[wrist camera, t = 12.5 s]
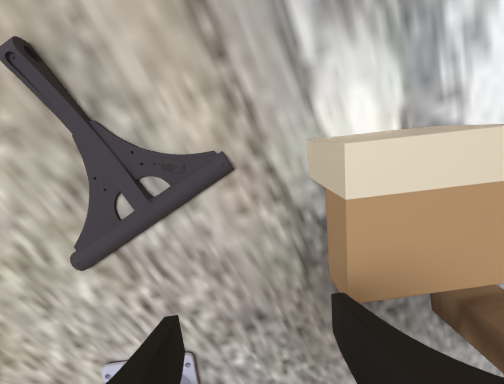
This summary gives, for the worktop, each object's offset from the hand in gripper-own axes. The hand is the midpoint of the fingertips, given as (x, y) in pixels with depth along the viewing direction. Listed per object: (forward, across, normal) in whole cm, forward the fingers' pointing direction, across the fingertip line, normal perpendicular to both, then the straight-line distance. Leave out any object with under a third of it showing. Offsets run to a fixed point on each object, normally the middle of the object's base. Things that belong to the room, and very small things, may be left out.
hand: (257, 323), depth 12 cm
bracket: (+11, +10, -9) cm, 17 cm away
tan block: (+10, -10, -3) cm, 15 cm away
